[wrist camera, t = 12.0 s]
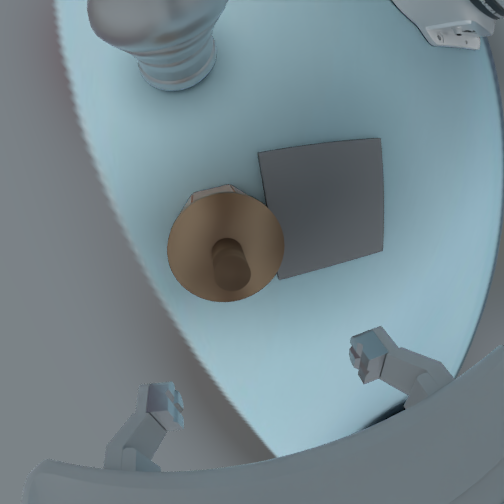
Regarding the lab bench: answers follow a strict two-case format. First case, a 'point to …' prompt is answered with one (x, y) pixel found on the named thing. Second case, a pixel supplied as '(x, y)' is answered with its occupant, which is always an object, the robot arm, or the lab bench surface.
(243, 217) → the lid
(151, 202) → the lab bench surface
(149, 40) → the plastic bottle
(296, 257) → the mat
